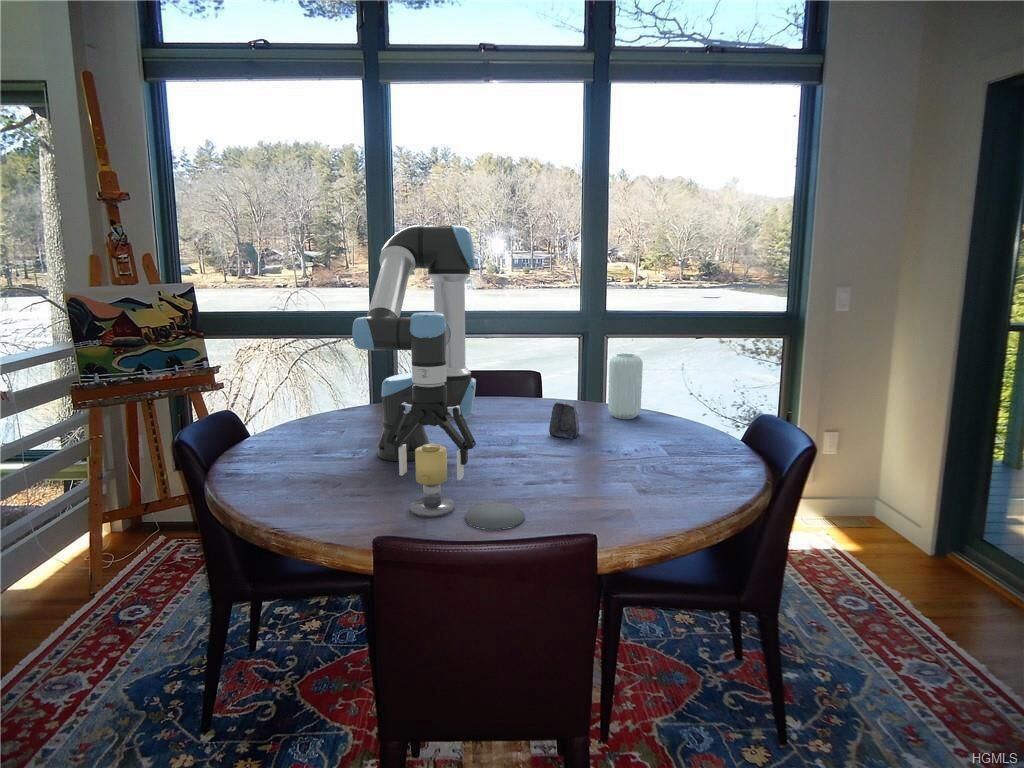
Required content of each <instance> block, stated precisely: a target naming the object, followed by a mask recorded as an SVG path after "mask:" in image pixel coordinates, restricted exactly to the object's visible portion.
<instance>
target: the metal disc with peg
mask: <svg viewBox="0 0 1024 768" xmlns="http://www.w3.org/2000/svg"><path fill="white" fill-rule="evenodd" d="M441 484H442V483H441ZM441 484H435V485H425V484H422V496H423V497H420V498H418V499H415V500H413V501H412V502H411V503H410V504H409V511H410V514H412V515H413V516H414V517H417V518H421V517H422V518H421V519H437V518H438V517H439V518H443V517H446V516H445V515H447V516H449V515H451V514H453V512H454V511H455V502H454V500H453V499H451V498H448V497H445V496H442V488H441V487H442V485H441ZM450 513H451V514H450ZM448 514H449V515H448ZM442 516H443V517H442Z"/></svg>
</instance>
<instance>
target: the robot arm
mask: <svg viewBox="0 0 1024 768" xmlns="http://www.w3.org/2000/svg"><path fill="white" fill-rule="evenodd" d="M471 233H472V232H471V230H470V229H469V227H467V226H466V225H465V226H464V225H456V224H455V225H454V224H449V225H420V224H419V225H418V224H417V225H411V226H408V227H405V228H403V229H401V230H399V231H398V232H396V233H395V234H394V235H392V236H391V237H390V238H389V239H388V240H387V241H386V242H385V244H384V245H383V247H382V248H381V251H380V255H379V259H378V260H379V266H380V269H379V272H378V276H377V279H376V282H375V283H376V284H375V286H374V290H373V294H372V296H371V297H372V298H371V301H370V303H369V307H368V311H367V314H366V316H362V317H357V318H355V319H354V321H353V323H352V329H351V330H352V333H351V334H352V341H353V345H354V347H355V348H356V349H358V350H365V351H366V350H367V351H372V352H373V351H410V352H411V372H406V373H400V374H395V375H391V376H389V377H386V378H384V380H383V381H382V382H381V383H382V384H381V396H380V397H381V408H382V411H381V412H382V432H381V435H380V439H379V442H378V446H377V456H378V458H380V459H381V460H382V459H383V460H386V461H392V462H398V470H399V476H402V477H403V476H404V475H405V474H406V473H407V472H408V467H407V466H408V462H411V461H415V449H416V448H418V447H421V446H423V445H425V444H431V443H430V441H429V437H428V435H427V432H426V429H425V426H432V427H436V426H439V427H440V429H442V430H443V431H444V432H445V434H447V436H448V437H449V438H450V439H451V440H452V442H453V443H454V444H455V446H456V447H457V449H458V450H457V451H456V480H457V481H461V480H462V479H463V478H464V477H465V472H464V471H465V467H464V466H466V465H467V463H469V462H468V461H469V460H468V459H469V457H468V456H469V454H468V453H469V452H468V451H470V450H473V449H474V447H475V446H476V445H477V443H476V440H475V438H474V436H473V434H472V432H471V430H470V428H469V426H468V424H467V422H466V419H469V418H471V416H472V414H473V408H474V404H475V395H476V388H477V387H476V386H477V384H476V383H477V379H476V378H474V377H472V372H471V370H469V368H467V366H466V305H465V304H466V297H465V296H466V294H465V293H466V288H465V286H466V285H465V283H466V280H468V279H469V277H470V276H471V270H473V269H475V268H476V259H475V258H476V257H475V250H474V243H473V238H472V234H471ZM415 269H422V270H423V269H425V270H426V269H427V276H428V277H429V278H430V279H431V280H432V281H433V311H424V312H423V311H422V312H421V311H420V312H414V313H412V314H411V316H410V317H401V313H402V308H403V304H404V300H405V295H406V292H407V286H408V282H409V279H410V275H411V274H412V273H413V272H414V270H415ZM450 420H454V422H455V424H456V426H457V429H458V430H459V432H458V430H457V429H456V428H455V427H454V426H453V424H452V423H451V421H450Z"/></svg>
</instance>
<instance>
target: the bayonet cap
mask: <svg viewBox="0 0 1024 768" xmlns="http://www.w3.org/2000/svg"><path fill="white" fill-rule="evenodd" d="M414 461H415V481H416V482H417V483H418V484H420V485H423V484H425V485H435V484H444V483H445V482H446V481H448V449H447V447H446V446H443V445H441V444H439V443H430V444H425V445H423V446H421V447H418V448H416V449H415V460H414Z"/></svg>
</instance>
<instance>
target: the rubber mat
mask: <svg viewBox="0 0 1024 768" xmlns="http://www.w3.org/2000/svg"><path fill="white" fill-rule="evenodd" d="M464 520H465V522H466V521H467V522H468V523H469V524H471V525H472V527H473V526H475V527H474V528H476V527H479V528H485V529H503V528H508V527H512V528H514V527H513V526H515V525H517V526H519V525H521V524H522V523H523V522H524V520H525V512H524V511H523V510H522V508H519V507H518V506H515V505H512V504H508V503H499V502H497V503H494V502H493V503H492V502H491V503H482V504H478V505H476V506H472V507H471V508H468V510H467V511H466V512H465V514H464ZM522 521H523V522H522ZM467 522H466V523H467ZM521 522H522V523H521ZM468 523H467V524H468ZM520 523H521V524H520ZM469 524H468V525H469ZM518 524H519V525H518ZM471 525H470V526H471ZM515 527H516V526H515ZM479 528H478V529H479ZM485 529H484V530H485ZM503 530H504V529H503Z"/></svg>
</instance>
